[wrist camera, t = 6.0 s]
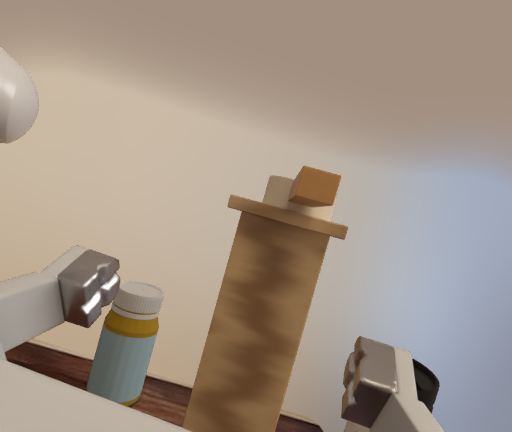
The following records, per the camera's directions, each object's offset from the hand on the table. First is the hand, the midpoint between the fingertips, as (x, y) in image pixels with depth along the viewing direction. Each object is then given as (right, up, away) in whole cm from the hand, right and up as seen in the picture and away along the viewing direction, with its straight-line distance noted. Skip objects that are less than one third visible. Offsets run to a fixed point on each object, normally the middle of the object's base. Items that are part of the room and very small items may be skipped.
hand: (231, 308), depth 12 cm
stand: (-4, -26, +20) cm, 33 cm away
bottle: (-19, -21, +37) cm, 46 cm away
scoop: (+4, +3, +15) cm, 15 cm away
